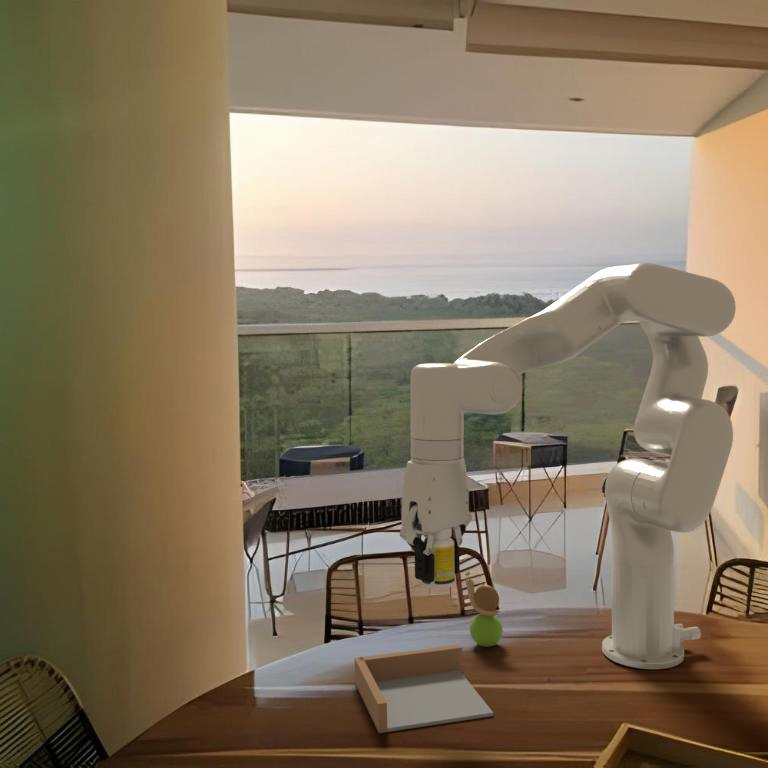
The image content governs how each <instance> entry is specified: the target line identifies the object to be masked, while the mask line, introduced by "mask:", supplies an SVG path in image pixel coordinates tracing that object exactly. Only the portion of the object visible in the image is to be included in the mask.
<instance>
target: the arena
mask: <svg viewBox="0 0 768 768" xmlns="http://www.w3.org/2000/svg"><path fill="white" fill-rule="evenodd" d="M354 682H355V683H354V684H355V687H356V688H357V690H358V692H359V694H360V697H361V699H362V701H363V703H364V706H365V707H366V709H367V711H368V713H369V715H370V717H371V720H372V722H373V723H374V726H375V728H376V731H377V732H378V734H382V733H390V732H397V731H403V730H404V731H405V730H409V729H417V728H422V727H428V726H429V727H430V726H436V725H442V724H443V725H444V724H448V723H456V722H461V721H467V720H475V719H481V718H488V717H494V712H493V710H492V709H491V708H490V706H489V705H488V704H487V702H486V701H485V700H484V699H483V698H482V697H481V696H480V695H481V694H479V693H478V691H477V690H476V688H475V687H473V685H472V684H471V683H470V681H469V679H467V678H466V676H465V675H464V674H463V647H462V646H461V645H460V644H453V645H446V646H439V647H431V648H423V649H422V648H421V649H414V650H406V651H399V652H391V653H383V654H382V653H381V654H375V655H368V656H367V655H366V656H359V657H354Z"/></svg>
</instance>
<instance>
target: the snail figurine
mask: <svg viewBox="0 0 768 768" xmlns="http://www.w3.org/2000/svg"><path fill="white" fill-rule="evenodd" d="M470 574H471V572H470V571H467V572H465V573H464V575H465V578H466V579H465V585H466V588H467V595H468V599H469V602H470V605H471V607H472V609H474V610H475V611H476V612H477V613H479V614H477V615H476V616H475V617H474V618H473V619H472V620H471V622H470V625H469V634H470V637H471V638H472V641H474V642H475V644H477V645H478V646H480V647H485V648H489V647H492V646H493V647H494V646H495V645H496V644H498V643H499V642H500V640H501V638H502V636H503V632H504V631H503V625H502V622H501V621H500V619H499V618H498V617H497V615H498V614H499V613H500V610H499V609H497V607H498V606H499V604H500V597H499V594H498V593H499V592H498V591H497V590H496V589H495V588H494V587H493V586H491V585H489V584H482V585H480V586H478V587H477V589H476V590H475V588H474V585H475V582H474V580H473V579H472V578H469V575H470Z"/></svg>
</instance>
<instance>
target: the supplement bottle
mask: <svg viewBox="0 0 768 768" xmlns="http://www.w3.org/2000/svg"><path fill="white" fill-rule="evenodd" d="M451 536H452V529H451V528H448V529H444V530H442V531H439V532H436V533H434V538H433V544H432V550H431V554H434V581H433V582H431V583H429V582H426V581H422V580H421V584H422V585H423V586H424V587H425V588H430V589H447V588H450V587H452V586H453V585H454V584H455V583H456V582H455V580H456V578H455V575H456V574H455V563H454V541H453V539H451V538H450V537H451ZM423 537H424V538H423V539H421V540H422V541H423V542H425V535H423Z"/></svg>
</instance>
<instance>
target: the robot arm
mask: <svg viewBox="0 0 768 768" xmlns="http://www.w3.org/2000/svg"><path fill="white" fill-rule="evenodd" d="M736 308H737V307H736V301H735V297H734V294H733V292H732V291H731V290H730V289H729V287H728V286H726V284H724V283H723V282H722V281H719V280H717V279H714V278H711V277H707V276H703V275H700V274H696V273H691V272H688V271H684V270H680V269H677V268H674V267H668V266H666V265H665V266H664V265H661V264H657V263H649V262H640V263H638V262H637V263H631V264H622V265H614V266H610V267H609V266H608V267H606V268H604V269H601V270H599V271H597V272H596V273H594V274H592V275H591V276H590V277H588V278H587V279H586V280H584V281H582V282H581V283H580V284H578V285H577V286H576V287H574V288H572V289H571V290H569V291H568V292H567V293H565V294H564V295H562V296H560V298H558V299H557V300H555V301H554V302H552V303H551V304H550V305H548V306H547V307H545V308H544V309H542V310H541V311H539V312H537V313H535V314H534V315H531V316H529V317H527V318H525V319H523V320H521V321H519V322H517V323H516V324H514V325H512V326H510V327H507V328H506V329H504V330H502V331H500V332H498V333H496V334H494V335H492V336H490V337H489V338H487V339H485V340H484V341H482V342H481V343H479V344H477V345H476V346H475V347H473V348H472V349H470V350H469V351H467V352H466V353H464V354H463V355H462V356H460V357H459V358H458V359H457V360H455V361H454V362H453V363H444V362H443V363H441V362H439V363H437V362H435V363H432V362H431V363H421V364H417V365H415V366H413V368H412V370H411V371H410V460H408V461H407V463H406V467H405V472H404V476H403V477H404V478H403V485H402V498H401V499H402V500H401V526H402V527H401V529H400V530H399V537H400V538H401V539H403V540H404V541H405V542H406V543H407V545H409V547H411V548H410V550H411V551H412V552H414V578H415V579H417V580H419V581H421V582H422V581H426V582H429V583H431V582H433V581H434V554H431V550H432V544H433V538H434V533H436V532H439V531H442V530H444V529H448V528H451V529H452V536H451V537H450V538H451V539H453V541H454V563H455V575H456V574H458V573H460V546H461V545H462V544H463V536H464V534H465V532H466V530H467V527H468V526H469V524H470V523H471V522H472V519H473V516H472V513H471V511H470V509H469V507H470V506H469V484H468V483H469V481H468V475H467V473H468V471H467V467H466V461H465V458H464V456H465V455H464V451H465V450H464V449H465V447H464V446H465V445H464V443H465V442H464V436H465V435H464V431H465V428H464V425H465V424H464V423H465V422H464V421H465V419H464V418H465V417H464V416H465V415H464V414H466V413H474V414H475V413H477V414H484V415H499V414H504V413H506V412H509V411H510V410H512V409H513V408H515V406H516V405H517V404H518V403H519V401H520V400H521V398H522V394H523V383H522V379H521V377H520V375H521V374H524V373H526V372H529V371H531V370H535V369H538V368H544V367H548V366H554V365H557V364H560V363H563V362H566V361H569V360H572V359H574V358H575V357H577V356H579V355H580V354H581V353H583V352H584V351H585V350H587V349H588V348H589V347H591V346H592V345H593V344H595V343H596V342H597V341H598V340H600V339H601V338H603V337H604V336H605V335H607V334H609V332H611V331H613V330H614V329H615V328H617V327H618V326H620V325H621V324H623V323H625V322H638V323H639V324H640V327H641V328H642V330H643V331H644V333H645V335H646V337H647V339H648V342H649V344H650V346H651V351H652V365H651V370H650V373H649V378H648V381H647V384H646V386H645V390H644V392H643V395H642V399H641V402H640V404H639V409H638V412H637V414H636V417H635V421H634V425H633V436H634V438H635V441H636V443H637V444H638V445H639V446H640V447H641V448H643V449H644V450H646V451H649V452H651V453H654V454H659V455H663V456H666V457H670V458H669V460H668V461H669V462H668V464H666V463H663V462H659V461H656V460H655V461H653V460H650V459H646V458H635V457H634V458H627V459H624V460H621V461H619V462H618V463H616V464H615V465H614V466H613V467H612V468H611V469H610V470H609V472H608V473H607V476H606V480H605V485H604V495H605V501H606V508H607V511H608V513H607V514H608V517H609V525H610V536H611V537H610V538H611V540H610V541H611V634H610V635H609V636H606V637H605V638H604V639H603V640H602V643H601V651H602V653H603V654H604V655H605V656H606V657H607V658H608V659H609V660H611V661H613V662H615V663H616V664H620V665H622V666H626V667H629V668H630V667H631V668H633V669H634V668H635V669H641V670H663V669H670V668H674V667H676V666H678V665H680V664H681V663H683V662H684V659H685V649H684V647H683V646H682V645H681V644H682V643H684V642H685V641H688V640H689V641H692V640H699V639H701V637H702V632H701V630H700V627H698V626H689V627H684V624H682V623H675V621H674V620H675V615H674V614H675V607H674V606H675V598H674V597H675V566H674V565H675V548H674V547H675V546H674V541H673V540H674V539H673V536H672V532H674V533H680V534H682V533H690V532H693V531H695V530H697V529H699V528H700V527H701V526H702V525H703V524H704V523H705V522H706V520H707V519H708V517H709V515H710V513H711V511H712V508H713V506H714V505H715V502H716V501H715V500H716V498H717V496H718V495H717V494H718V492H719V489H720V486H721V482H722V479H723V476H724V473H725V470H726V466H727V463H728V461H729V457H730V455H731V450H732V447H733V443H734V430H733V423H732V419H731V417H730V415H729V412H727V410H726V409H725V408H724V407H723V406H721V405H720V404H718V403H717V402H715V401H711V400H709V399H704V398H703V396H704V395H703V394H704V390H705V387H706V383H707V379H708V376H709V375H708V374H709V360H708V357H707V354H706V351H705V348H704V346H703V344H702V341H701V339H700V337H712V336H715V335H719V334H721V333H722V332H724V331H725V330H727V328H729V326H730V324H731V323H732V322H733V321H734V319H735V314H736V311H737V310H736ZM731 325H732V324H731ZM424 535H425V537H424V538H425V542H423V541H422V540H423V539H422V536H424Z"/></svg>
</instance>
